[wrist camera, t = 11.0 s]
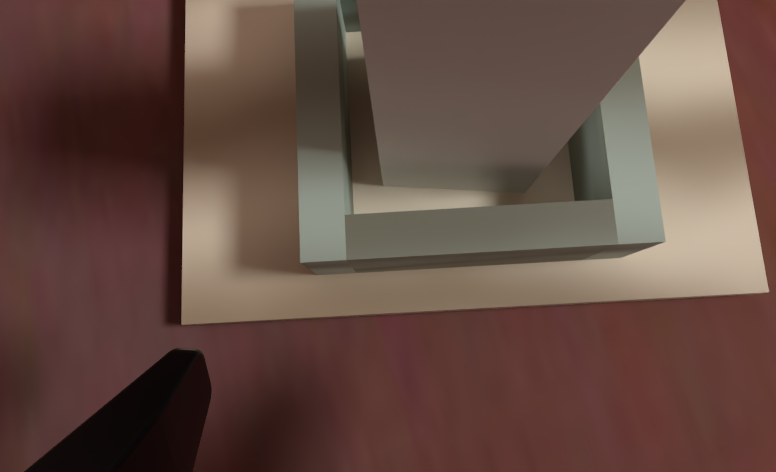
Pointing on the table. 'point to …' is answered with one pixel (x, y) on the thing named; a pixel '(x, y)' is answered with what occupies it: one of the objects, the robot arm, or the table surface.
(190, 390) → the robot arm
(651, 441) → the table surface
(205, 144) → the end holder
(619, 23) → the connector plug
